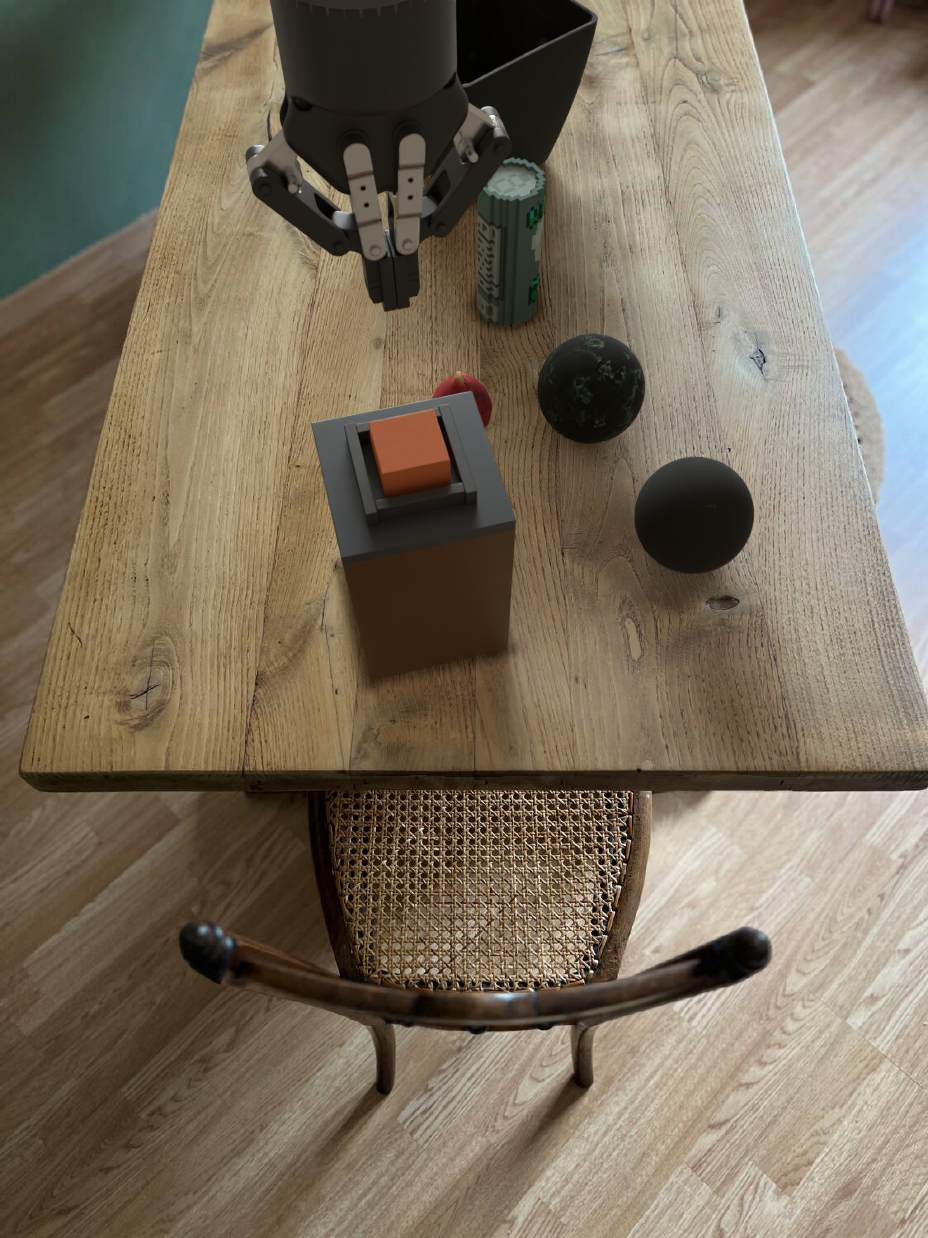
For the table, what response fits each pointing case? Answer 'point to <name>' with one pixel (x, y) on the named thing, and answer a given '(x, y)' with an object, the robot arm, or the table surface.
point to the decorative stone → (591, 388)
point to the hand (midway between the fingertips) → (393, 299)
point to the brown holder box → (422, 543)
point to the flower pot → (523, 66)
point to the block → (410, 453)
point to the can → (510, 242)
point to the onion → (467, 384)
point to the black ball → (694, 515)
